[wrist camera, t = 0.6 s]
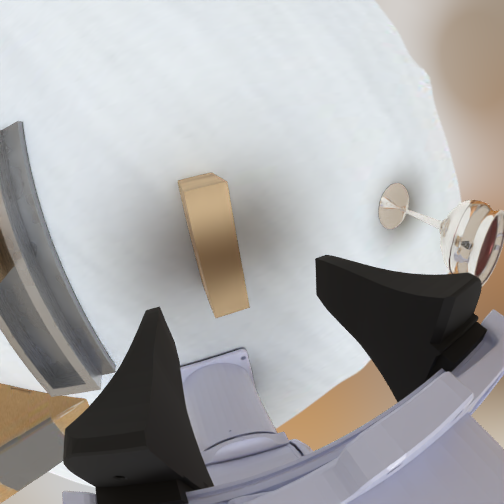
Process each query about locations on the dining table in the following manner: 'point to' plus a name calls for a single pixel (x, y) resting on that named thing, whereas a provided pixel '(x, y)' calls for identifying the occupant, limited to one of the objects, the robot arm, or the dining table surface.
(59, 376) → the track
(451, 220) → the wineglass
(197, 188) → the tan rectangular block
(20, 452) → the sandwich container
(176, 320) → the dining table surface
